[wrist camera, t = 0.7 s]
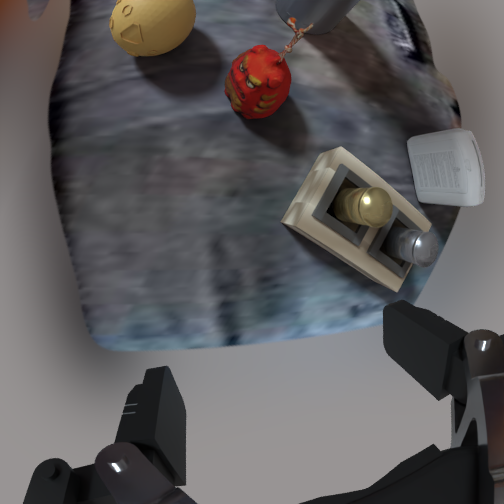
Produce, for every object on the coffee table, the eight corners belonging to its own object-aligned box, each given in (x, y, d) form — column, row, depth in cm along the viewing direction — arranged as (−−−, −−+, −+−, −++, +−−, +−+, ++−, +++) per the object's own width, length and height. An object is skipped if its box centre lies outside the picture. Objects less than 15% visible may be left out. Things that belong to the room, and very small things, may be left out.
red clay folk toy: (213, 79, 31) (224, 11, 17) (263, 60, 32) (300, -7, 17) (241, 130, 33) (271, 85, 19) (291, 109, 34) (346, 61, 19)
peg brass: (342, 181, 30) (371, 179, 25) (366, 200, 31) (398, 201, 25) (326, 210, 31) (353, 213, 25) (351, 228, 31) (381, 235, 26)
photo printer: (434, 200, 39) (494, 205, 27) (416, 206, 39) (477, 211, 27) (421, 135, 37) (480, 124, 25) (402, 138, 37) (462, 124, 25)
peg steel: (391, 220, 32) (424, 225, 26) (410, 236, 33) (442, 243, 27) (377, 247, 32) (409, 256, 27) (397, 262, 33) (428, 273, 28)
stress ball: (193, 18, 30) (147, -27, 22) (226, 17, 24) (169, -42, 16) (141, 67, 32) (89, 27, 24) (160, 78, 26) (93, 24, 18)
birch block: (319, 153, 35) (343, 145, 29) (404, 220, 39) (434, 224, 32) (280, 221, 36) (298, 226, 29) (372, 280, 39) (399, 294, 33)
